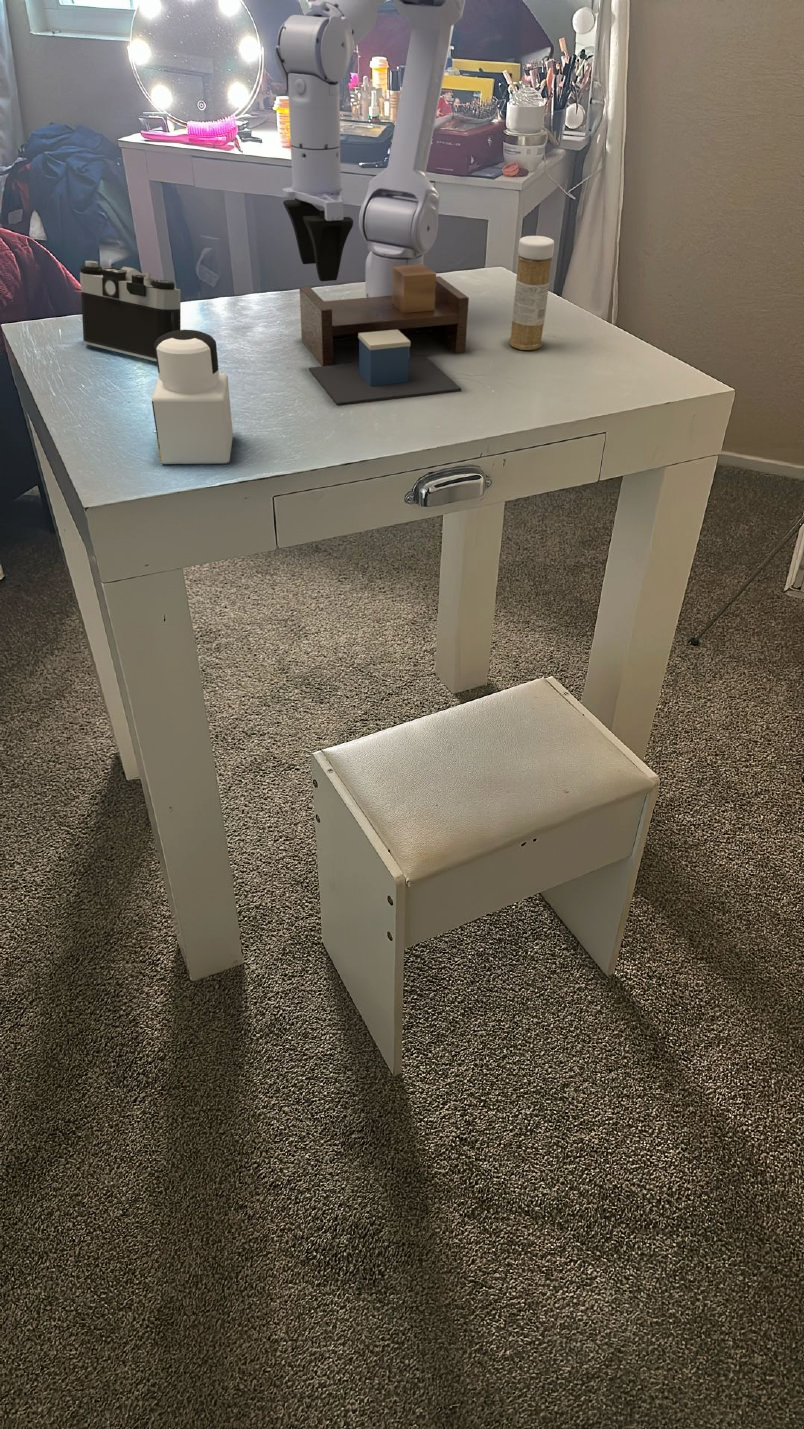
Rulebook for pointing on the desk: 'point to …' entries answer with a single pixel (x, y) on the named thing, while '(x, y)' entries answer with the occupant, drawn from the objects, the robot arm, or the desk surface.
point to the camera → (127, 309)
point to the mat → (354, 389)
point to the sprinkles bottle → (531, 291)
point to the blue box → (384, 357)
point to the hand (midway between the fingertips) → (319, 271)
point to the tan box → (413, 288)
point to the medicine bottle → (191, 400)
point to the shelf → (380, 319)
